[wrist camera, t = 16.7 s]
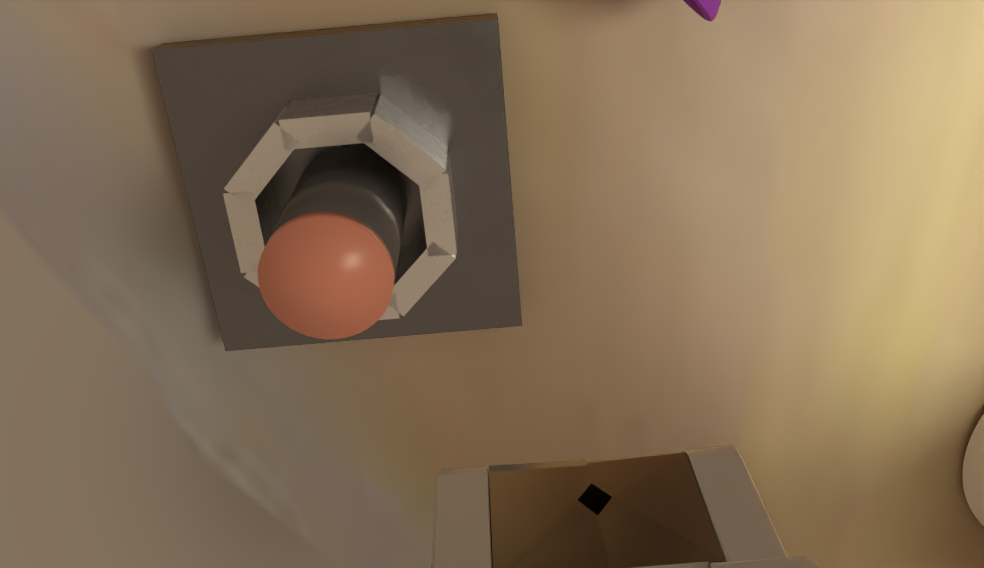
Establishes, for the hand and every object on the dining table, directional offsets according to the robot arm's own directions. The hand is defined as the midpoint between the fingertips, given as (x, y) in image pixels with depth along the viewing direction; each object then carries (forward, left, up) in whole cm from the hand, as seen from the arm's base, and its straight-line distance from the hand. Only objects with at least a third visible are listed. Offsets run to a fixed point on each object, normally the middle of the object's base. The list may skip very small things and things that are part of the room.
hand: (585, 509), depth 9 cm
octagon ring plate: (+7, +7, -31) cm, 33 cm away
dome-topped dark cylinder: (+7, +7, -30) cm, 31 cm away
